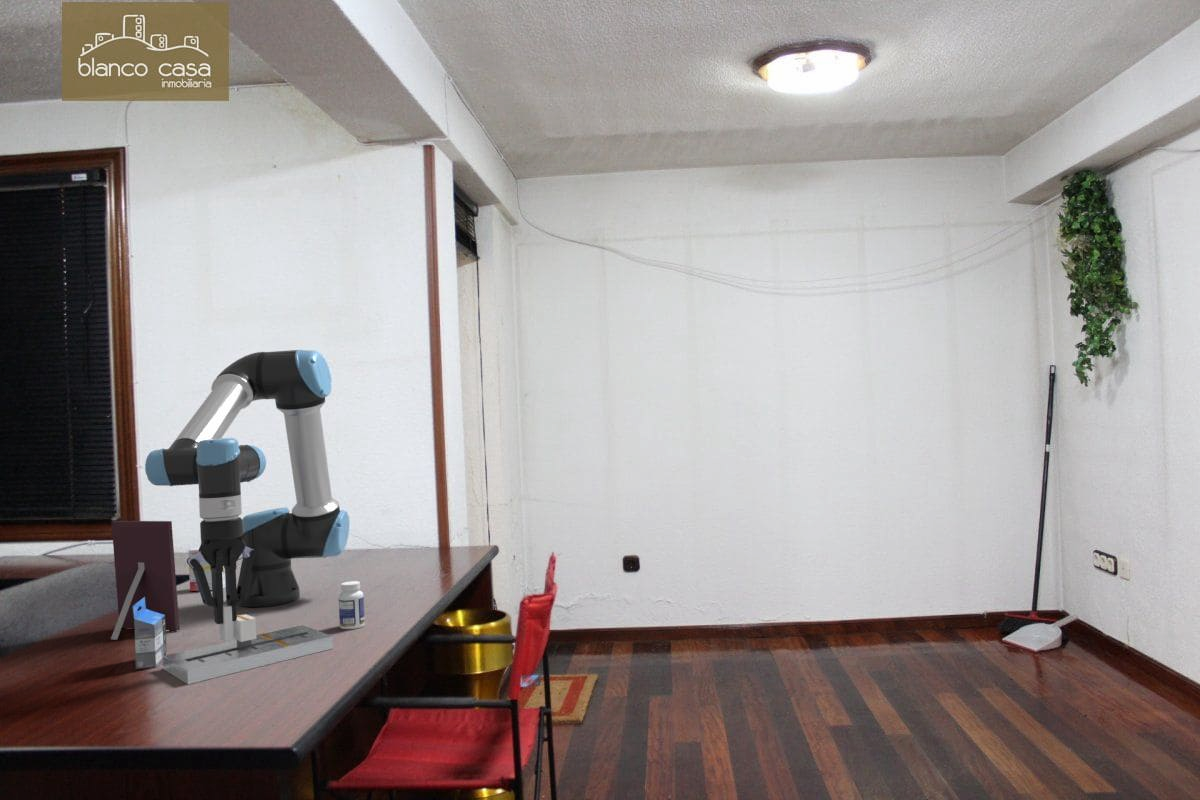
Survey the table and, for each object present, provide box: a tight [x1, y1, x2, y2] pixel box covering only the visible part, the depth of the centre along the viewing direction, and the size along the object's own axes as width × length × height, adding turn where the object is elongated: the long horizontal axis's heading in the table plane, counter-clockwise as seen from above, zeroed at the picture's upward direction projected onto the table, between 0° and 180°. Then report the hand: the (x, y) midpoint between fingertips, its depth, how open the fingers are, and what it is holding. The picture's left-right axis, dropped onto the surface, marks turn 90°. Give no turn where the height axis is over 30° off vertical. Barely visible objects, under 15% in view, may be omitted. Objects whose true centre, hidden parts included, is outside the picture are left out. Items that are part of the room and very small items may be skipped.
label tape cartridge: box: [132, 597, 168, 670], centre depth 171 cm, size 9×4×12 cm, turn 15°
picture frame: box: [110, 520, 180, 640], centre depth 194 cm, size 17×10×25 cm, turn 71°
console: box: [162, 624, 334, 685], centre depth 171 cm, size 14×28×3 cm, turn 133°
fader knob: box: [232, 613, 257, 650], centre depth 170 cm, size 5×3×8 cm, turn 43°
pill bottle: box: [338, 580, 366, 630], centre depth 193 cm, size 5×5×10 cm
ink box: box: [187, 545, 226, 592], centre depth 241 cm, size 9×5×12 cm, turn 95°
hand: (226, 639), depth 168 cm, fingers closed
